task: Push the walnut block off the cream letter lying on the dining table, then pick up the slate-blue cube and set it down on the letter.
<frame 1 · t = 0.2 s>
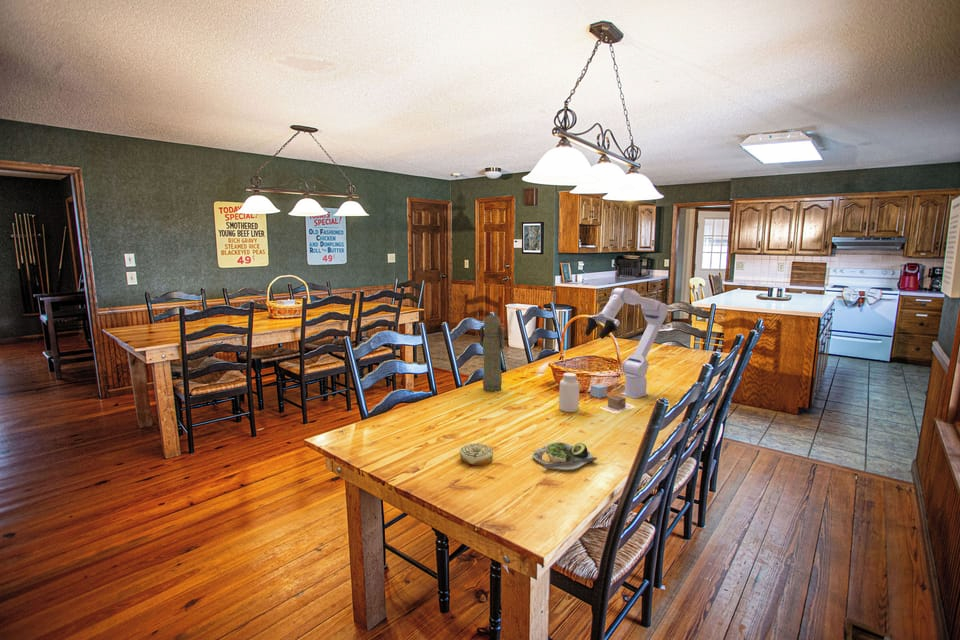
hand: (593, 335, 191), 30 cm above the table, tool tilted 45°, fingers open, 7 cm apart
slate cube: (598, 396, 210), on the table
walnut block: (616, 406, 196), resting on letter
pill bottle: (568, 409, 194), on the table
salad plate: (564, 460, 150), on the table
letter: (616, 407, 196), on the table
decorated donut: (476, 460, 150), on the table
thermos: (492, 389, 221), on the table
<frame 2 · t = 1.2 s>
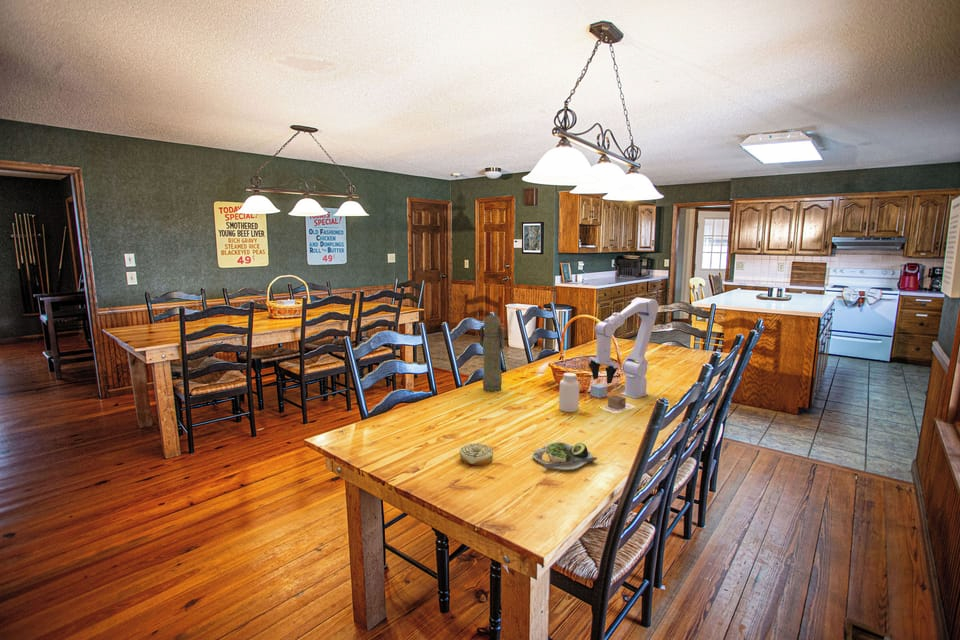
hand: (602, 381, 201), 9 cm above the table, tool pointing down, fingers open, 7 cm apart
nothing on the table moved.
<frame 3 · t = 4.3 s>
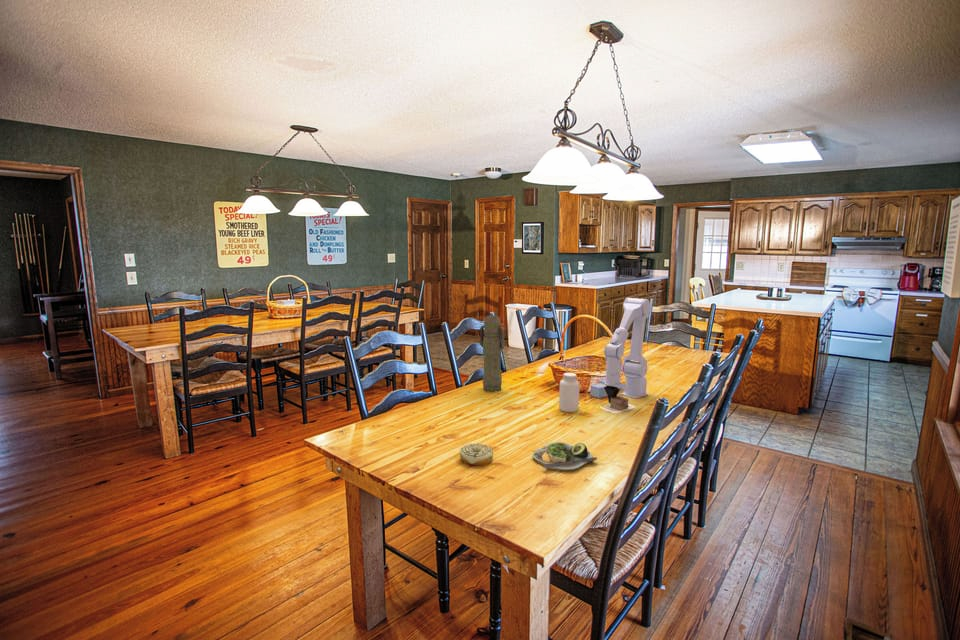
hand: (611, 403, 198), 1 cm above the table, tool pointing down, fingers closed
walnut block: (619, 407, 195), resting on letter, touching gripper
everything else where it was.
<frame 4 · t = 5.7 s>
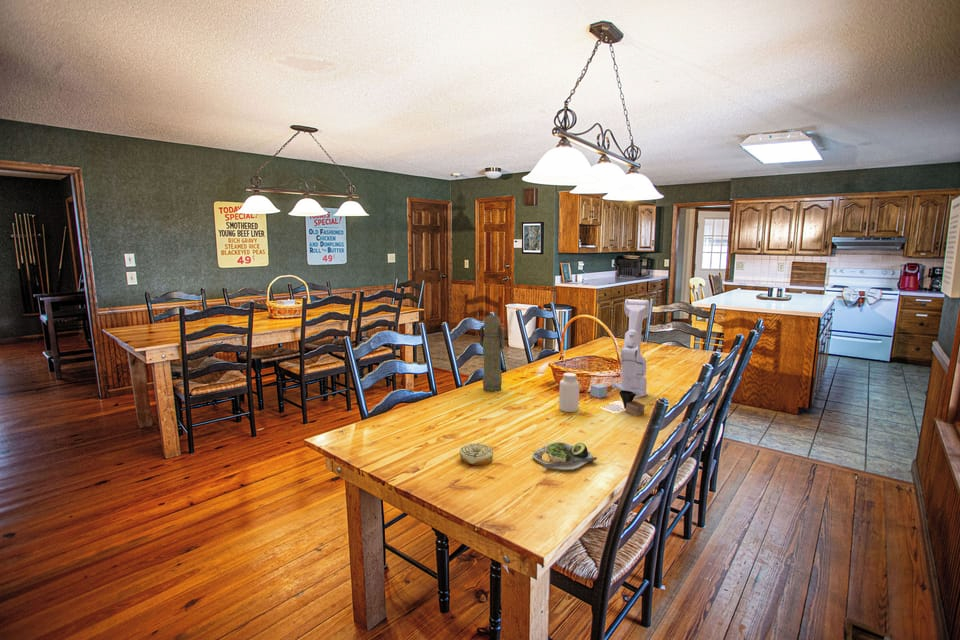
hand: (627, 408, 192), 1 cm above the table, tool pointing down, fingers closed
walnut block: (634, 412, 189), on the table, tilted 5°, touching gripper
everything else where it was.
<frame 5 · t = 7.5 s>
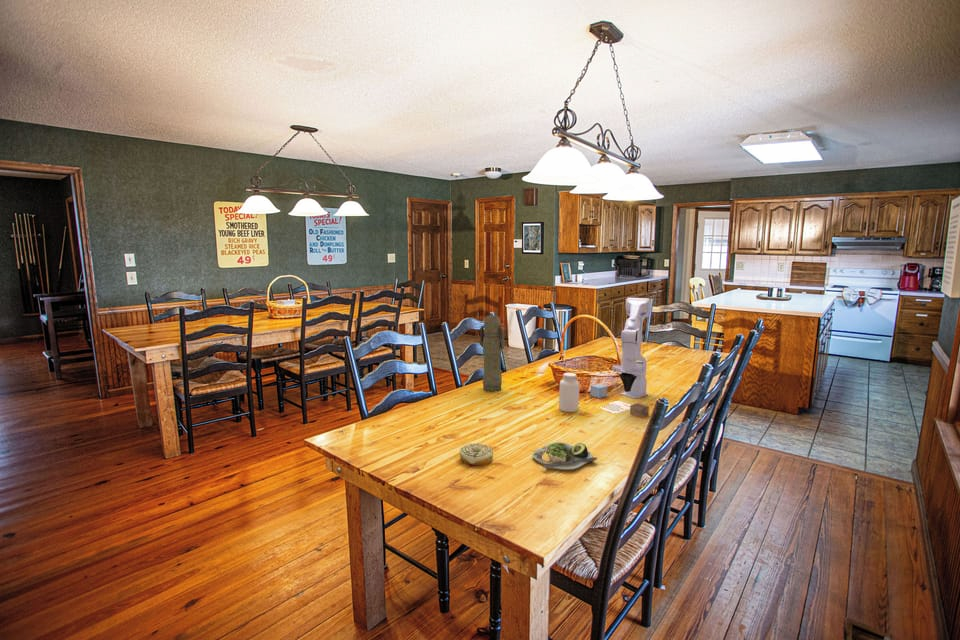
hand: (627, 391, 191), 8 cm above the table, tool pointing down, fingers closed
walnut block: (639, 415, 187), on the table
everything else where it was.
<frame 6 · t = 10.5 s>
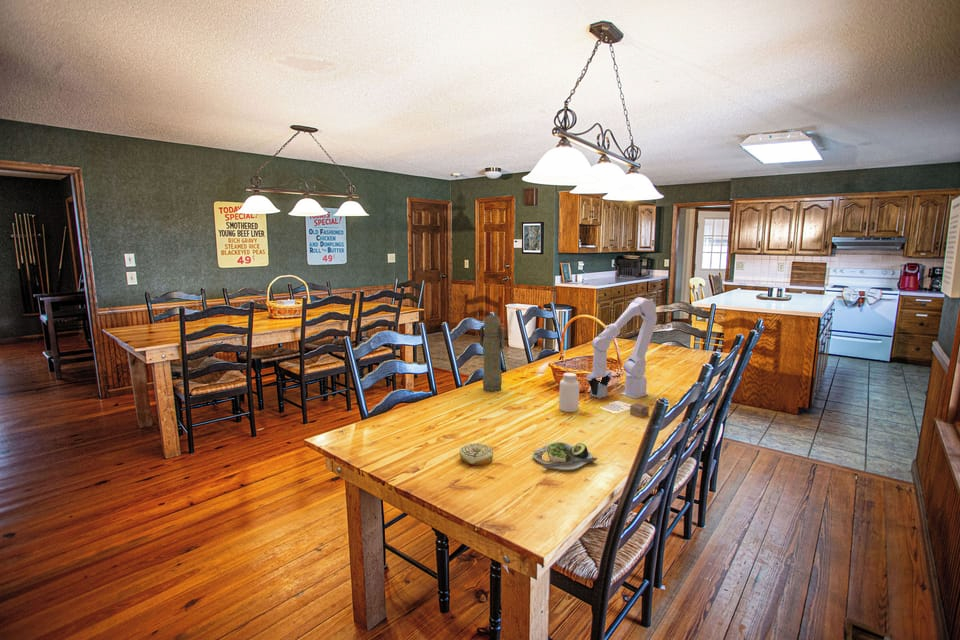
hand: (598, 393, 210), 1 cm above the table, tool pointing down, fingers closed on slate cube, 5 cm apart
slate cube: (598, 396, 210), on the table, touching gripper
everything else where it was.
when the fingers open (3 cm above the table, at t = 13.8 s): slate cube stays where it is, resting on letter.
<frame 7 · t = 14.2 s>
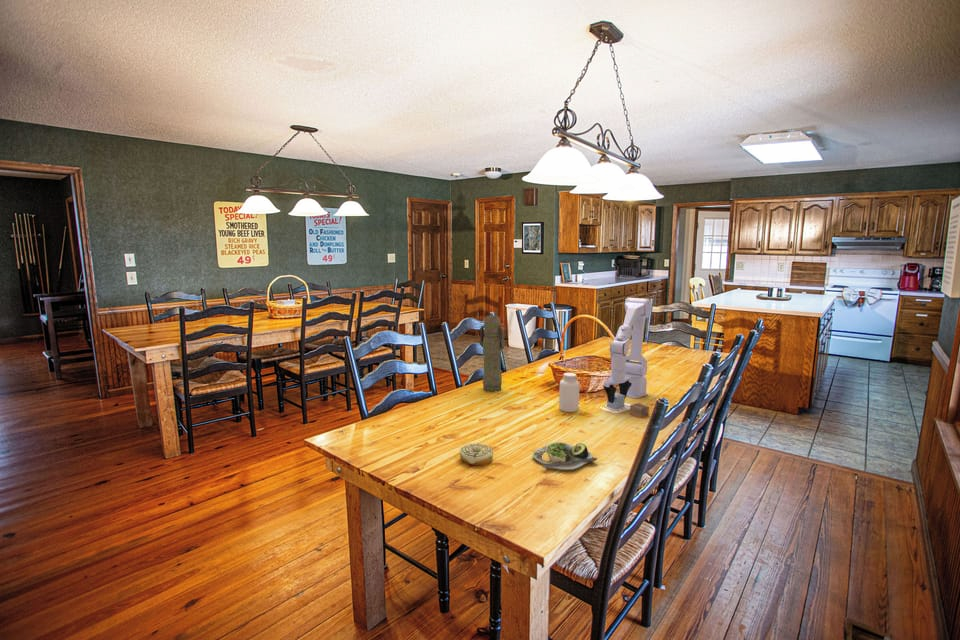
hand: (616, 400, 196), 3 cm above the table, tool pointing down, fingers open, 7 cm apart
slate cube: (615, 406, 197), resting on letter
everything else where it was.
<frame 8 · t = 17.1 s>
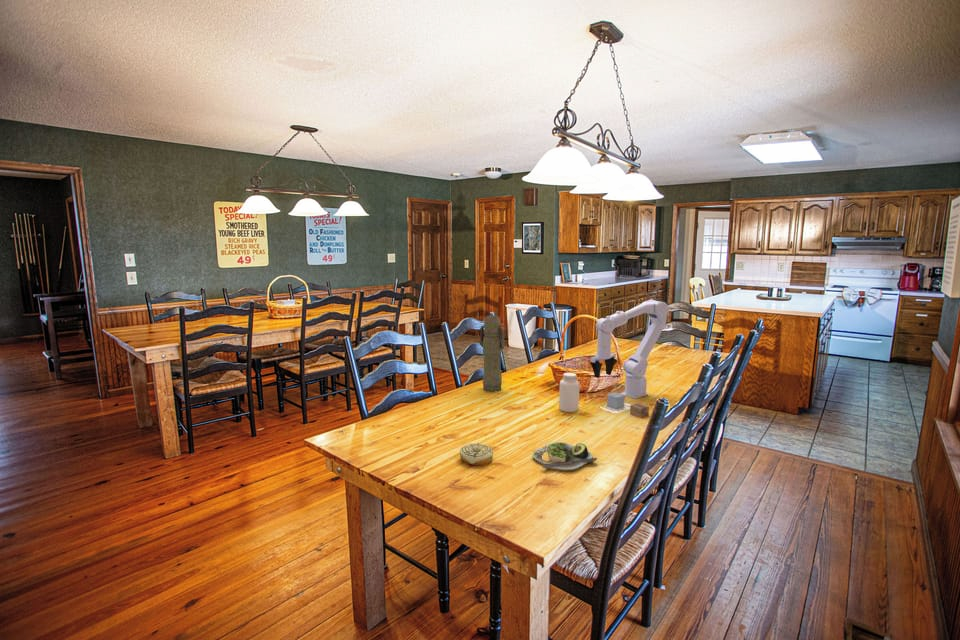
hand: (602, 375, 207), 10 cm above the table, tool pointing down, fingers open, 7 cm apart
nothing on the table moved.
at the end: slate cube inside the target area on the letter (0.5 cm from its centre), point 0.2 cm above the letter's base; slate cube tilted 0°; walnut block touching table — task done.
